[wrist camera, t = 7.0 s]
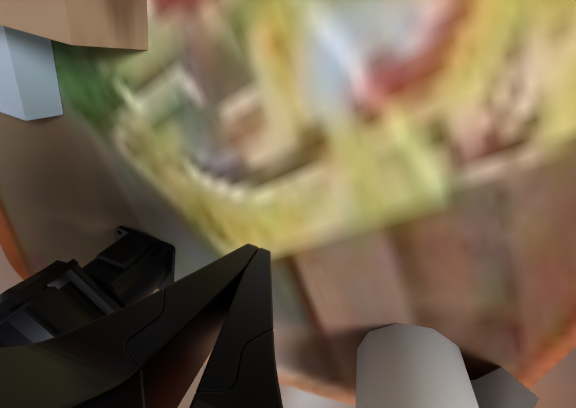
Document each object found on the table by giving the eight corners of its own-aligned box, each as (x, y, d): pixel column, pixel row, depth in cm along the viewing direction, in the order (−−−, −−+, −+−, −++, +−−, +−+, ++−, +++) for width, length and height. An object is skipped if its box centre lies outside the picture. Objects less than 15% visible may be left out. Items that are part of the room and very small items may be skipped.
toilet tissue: (528, 370, 24) (604, 510, 16) (387, 394, 30) (394, 505, 22) (481, 298, 22) (542, 420, 14) (339, 340, 28) (330, 441, 20)
